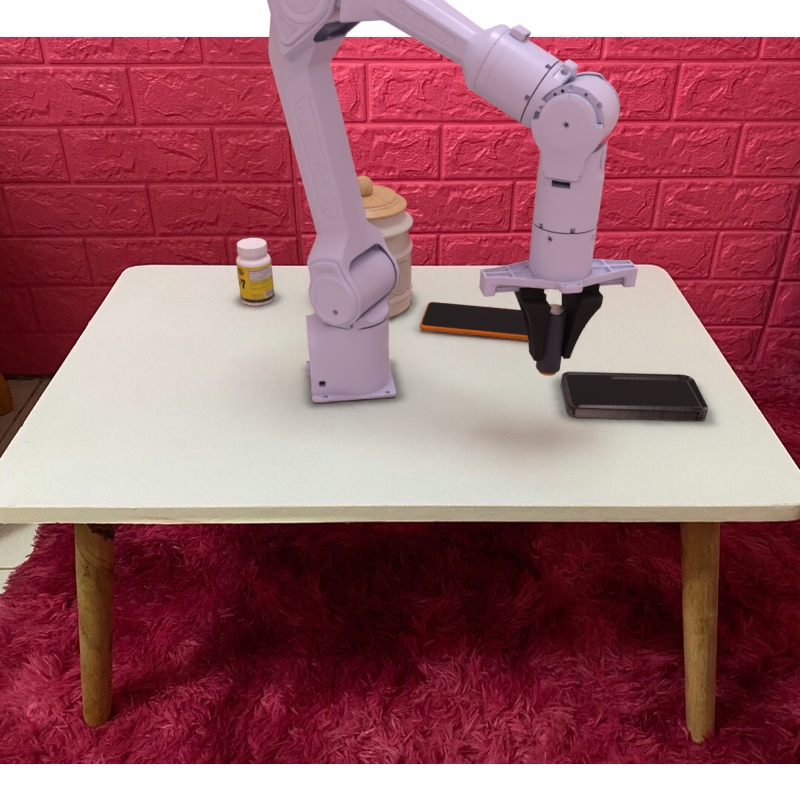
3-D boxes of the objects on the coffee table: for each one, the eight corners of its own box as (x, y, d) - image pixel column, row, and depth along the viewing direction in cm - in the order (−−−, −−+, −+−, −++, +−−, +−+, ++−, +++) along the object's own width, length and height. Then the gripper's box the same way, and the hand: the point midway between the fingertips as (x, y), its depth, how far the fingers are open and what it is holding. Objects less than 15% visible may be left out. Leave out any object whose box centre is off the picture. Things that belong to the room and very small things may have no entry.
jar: (312, 288, 112) (303, 165, 102) (398, 278, 114) (398, 158, 105) (329, 328, 101) (321, 196, 91) (424, 316, 104) (426, 187, 94)
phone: (710, 412, 82) (569, 408, 83) (708, 421, 83) (568, 416, 84) (691, 374, 89) (560, 370, 90) (689, 382, 90) (559, 378, 90)
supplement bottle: (238, 294, 110) (231, 238, 105) (271, 290, 111) (266, 234, 106) (243, 308, 106) (236, 251, 101) (277, 304, 107) (272, 247, 103)
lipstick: (539, 378, 76) (546, 314, 72) (532, 366, 78) (539, 303, 74) (562, 376, 76) (571, 313, 73) (555, 364, 78) (563, 302, 75)
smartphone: (548, 343, 97) (549, 337, 97) (418, 331, 100) (418, 325, 100) (550, 316, 104) (551, 310, 103) (428, 305, 106) (428, 300, 106)
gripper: (496, 243, 65) (487, 381, 72) (660, 234, 66) (634, 369, 74) (477, 215, 71) (470, 345, 78) (628, 207, 72) (608, 335, 80)
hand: (549, 355), depth 76 cm, fingers closed on lipstick, 2 cm apart
